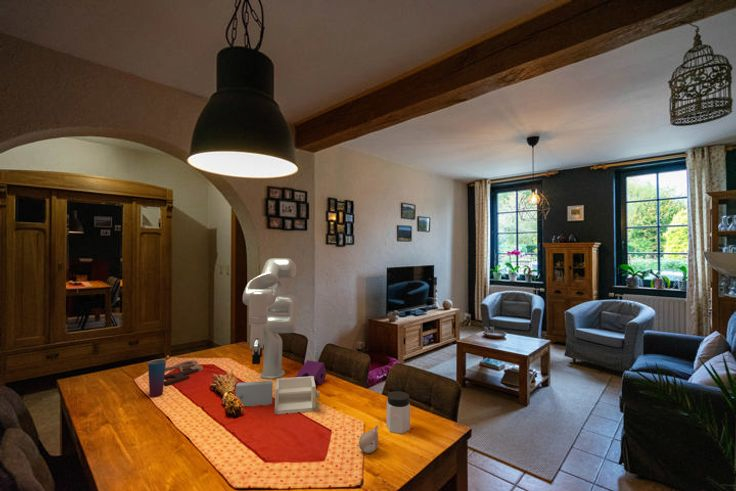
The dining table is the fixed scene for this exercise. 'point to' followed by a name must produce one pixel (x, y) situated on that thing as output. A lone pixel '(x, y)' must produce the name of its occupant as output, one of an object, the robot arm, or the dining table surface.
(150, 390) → the cup
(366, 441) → the garlic bulb
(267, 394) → the door
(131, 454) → the dining table surface
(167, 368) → the wood carving
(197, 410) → the dining table surface
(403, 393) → the jar
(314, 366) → the mounting bracket
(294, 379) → the cabinet
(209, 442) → the dining table surface
